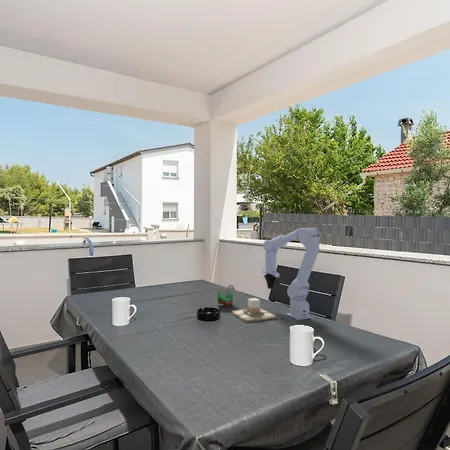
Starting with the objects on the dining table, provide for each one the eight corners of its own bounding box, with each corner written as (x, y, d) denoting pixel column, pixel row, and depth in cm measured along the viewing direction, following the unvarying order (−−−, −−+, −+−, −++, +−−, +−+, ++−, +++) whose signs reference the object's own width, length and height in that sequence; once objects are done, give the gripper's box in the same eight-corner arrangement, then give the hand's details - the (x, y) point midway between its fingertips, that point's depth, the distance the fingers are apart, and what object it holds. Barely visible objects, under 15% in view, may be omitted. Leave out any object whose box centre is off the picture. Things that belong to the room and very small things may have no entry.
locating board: (276, 318, 171) (276, 313, 171) (246, 322, 165) (246, 317, 165) (260, 310, 186) (260, 305, 186) (231, 313, 179) (231, 308, 179)
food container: (225, 309, 187) (225, 289, 187) (216, 307, 191) (216, 288, 190) (239, 304, 197) (239, 286, 196) (230, 302, 201) (230, 284, 200)
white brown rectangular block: (259, 314, 174) (260, 300, 173) (251, 315, 172) (251, 300, 172) (255, 312, 178) (256, 297, 178) (247, 312, 176) (247, 298, 176)
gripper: (257, 261, 194) (257, 286, 195) (271, 265, 181) (270, 291, 182) (268, 260, 197) (268, 285, 198) (283, 264, 184) (282, 290, 184)
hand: (270, 288), depth 190 cm, fingers closed
